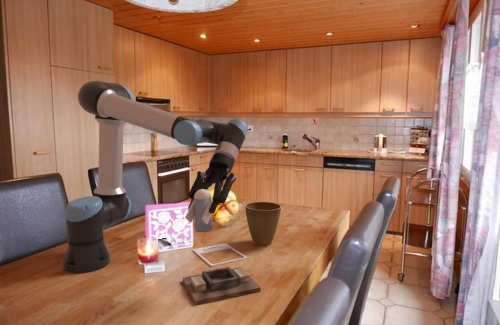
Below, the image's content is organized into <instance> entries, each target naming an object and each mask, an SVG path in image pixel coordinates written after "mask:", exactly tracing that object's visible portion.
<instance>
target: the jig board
mask: <svg viewBox="0 0 500 325" xmlns="http://www.w3.org/2000/svg"><path fill="white" fill-rule="evenodd" d="M181 279H182V283H183V285H184V287H185V288H186V290H187V292H188V294H189V296H190V297H191V299H192V301H193V303H194V304H195V306H198V305H201V304H205V303H206V304H207V303H212V302H215V301H220V300H226V299H230V298H235V297H239V296H243V295H248V294H254V293H258V292H261V290H262V288H261V285H259V284H258V283H257V282H256V281H255V280H254V279H253V278H252V277H251V276H250V274H249V273H248V272H246V270H245V269H244V268H242V267H241V266H240V267H235V268H231V267H229V266H226V267H221V268H220V267H219V268H215V269H214V268H213V269H210V270H209V269H208V270H204V271H203V270H202V271H201V274H196V275H191V276H185V277H182V278H181Z"/></svg>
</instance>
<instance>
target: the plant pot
mask: <svg viewBox="0 0 500 325" xmlns="http://www.w3.org/2000/svg"><path fill="white" fill-rule="evenodd" d="M244 208H245V216H246V221H247V226H248V229H249V234H250V237H251V240H252V242H253V244H254V245H256V246H262V247H263V246H264V247H265V246H270V245H271V244H272V241H273V240H274V237H275V234H276V231H277V229H278V224H279V222H280V215H281V212H282V211H281V209H282V205H281V204H279V203H277V202H276V203H275V202H271V201H269V202H268V201H254V202H248V203H246V204H245V205H244Z"/></svg>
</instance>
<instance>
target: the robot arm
mask: <svg viewBox="0 0 500 325" xmlns="http://www.w3.org/2000/svg"><path fill="white" fill-rule="evenodd" d="M77 100H78V104H79V105H80V108H82V109H83V110H84V111H85V112H86V113H88V114H92V115H94V119H95V121H96V122H97V123H98V124H99V125H98V131H99V132H98V169H97V170H98V175H97V176H98V177H97V179H98V180H97V187H96V188H95V189H94V190H93V195H91V196H90V195H89V196H83V197H78V198H75V199H73V200H71V201H70V202H68V203H67V204H66V206H65V207H66V208H65V215H64V216H65V220H66V221H65V223H66V224H65V225H66V234H67V235H66V236H67V248H66V251H65V255H64V258H63V262H62V264H63V270H64V271H65V270H66V271H65V272H68V273H77V274H79V273H80V274H81V273H89V272H93V271H98V270H100V269H102V268H105V267H106V266H108V265H109V264H110V262H111V255H110V252H109V249H108V247H107V244H106V242H105V237H104V236H105V234H104V232H105V231H104V230H105V229H107V228H109V227H111V226H113V225H116V224H119V223H121V222H122V221H124V220H125V219H126V218H128V216H129V215H130V213H131V210H132V201H131V199H130V198H129V196H128V195H127V189H125V188H124V187H123V166H124V164H123V162H124V160H123V159H124V134H125V133H124V130H125V129H124V128H125V124H127V123H128V124H131V125H133V126H136V127H139V128H141V129H144V130H147V131H151V132H154V133H157V134H159V135H162V136H165V137H167V138H171V139H173V140H176V142H178V143H179V144H180V145H184V146H194V145H197V144H203V143H207V144H208V143H209V144H214V145H217V146H216V148H215V150H214V152H213V154H212V157H210V160H209V163H208V164H209V165H208V168H207V169H206V170H205V171H202V172H201V171H200V170H198V171H197V172H196V177H195V180H194V181H193V184H192V186H191V188H190V189H189V192H188V194H187V197H188V198H189V200H191V201H190V203H189V205H188V206H187V207H188V208H187V209H188V211H187V213H186V214H185V219H186V220H187V221H188V222H189V223H192V222H193V220H194V219H195V206H194V195H195V193H196V192H197V191H198V190H200V189H205V190H207V191H208V189H209V188H210V187H212V186H213V184H214V189H213V193H212V194H213V195H212V198H211V200H210V201H209V203H208V205H207V207H206V210H205V212H204V214H203V217H202V219H201V220H202V221H203V222H204V223H205V224H208V222H209V220H210V217H211V215H213V214H215V213H216V210H217V208H218V206H219V205H221V204H222V205H224V204H225V203H226V201H227V199H228V196H229V194H230V192H231V189H232V187H233V184H234V182H236V181H237V177H236V176H235V174H234V173H233V172H232V170H233V167H234V166H235V163H236V161H237V158H238V155H239V153H240V151H241V149H242V146H243V144H244V143H245V141H246V137H247V133H248V129H249V128H248V126H247V124H246V123H245V122H244V121H243V120H241V119H238V118H234V119H232V118H231V119H230V120H228V122H227V123H221V122H215V121H212V120H207V119H203V118H192V119H190V118H187V117H184V116H181V115H178V114H175V113H172V112H169V111H167V110H166V111H165V110H163V109H160V108H157V107H155V106H152V105H147V104H146V103H142V102H139V101H136V100H135V97H134V94H133V92H132V91H131V90H130V89H129V88H128V87H127V86H124V85H122V84H119V83H113V82H106V81H100V80H91V81H88V82H86V83H84V84H83V85H82V86H81V87H80V88H79V91H78V93H77Z"/></svg>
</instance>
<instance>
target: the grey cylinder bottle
mask: <svg viewBox="0 0 500 325" xmlns="http://www.w3.org/2000/svg"><path fill="white" fill-rule="evenodd" d="M210 200H211V201H212V195H211V193H210V191H209V190H208V189H207V190H205V189H200V190H198V191H197V192H196V193H195V195H194V206H195V216H194V226H195V227H194V228H195V230H194V231H195V232H196V233H209V232H212V230H213V216H212V215H213V214H212V215H211V217H210V220H209V222H208V224H205V223H204V222H203V221H202V220H201V219H202V217H203V214H204V212H205V210H206V207H207V205H208V203H209V201H210Z"/></svg>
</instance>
